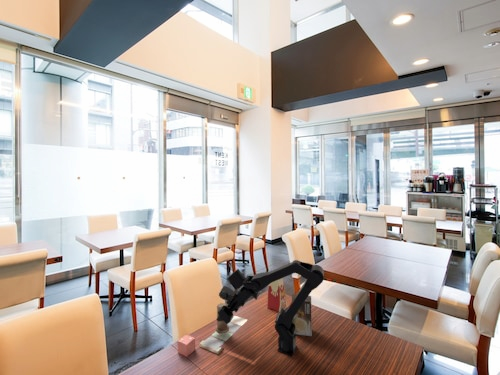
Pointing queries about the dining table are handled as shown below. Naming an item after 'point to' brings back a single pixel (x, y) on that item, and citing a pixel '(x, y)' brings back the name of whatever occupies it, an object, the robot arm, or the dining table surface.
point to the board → (222, 336)
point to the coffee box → (303, 318)
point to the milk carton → (276, 296)
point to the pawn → (221, 322)
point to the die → (186, 345)
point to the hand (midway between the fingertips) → (219, 317)
